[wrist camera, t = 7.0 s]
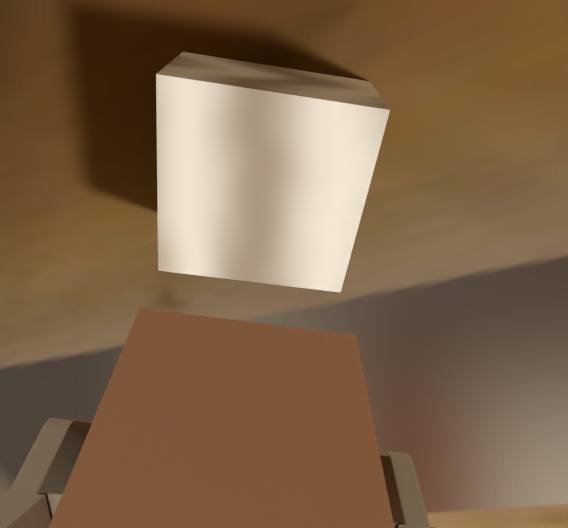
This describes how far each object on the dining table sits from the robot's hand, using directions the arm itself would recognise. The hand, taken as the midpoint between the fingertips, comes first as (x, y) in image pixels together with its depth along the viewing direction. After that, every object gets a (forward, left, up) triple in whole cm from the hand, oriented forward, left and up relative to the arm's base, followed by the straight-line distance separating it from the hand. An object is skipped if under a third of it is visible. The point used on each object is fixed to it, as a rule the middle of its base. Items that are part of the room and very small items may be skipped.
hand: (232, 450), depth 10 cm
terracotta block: (0, 0, -2) cm, 2 cm away
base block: (0, 0, -20) cm, 20 cm away
